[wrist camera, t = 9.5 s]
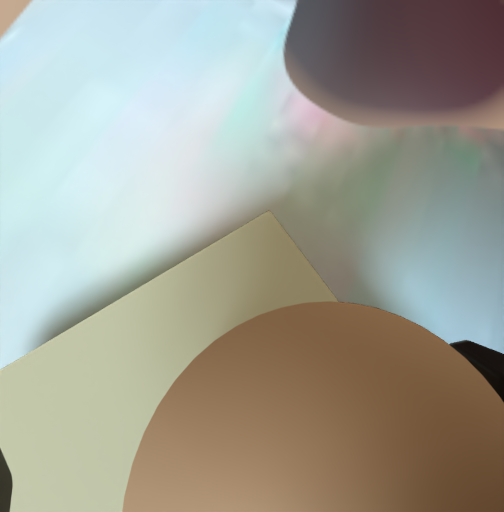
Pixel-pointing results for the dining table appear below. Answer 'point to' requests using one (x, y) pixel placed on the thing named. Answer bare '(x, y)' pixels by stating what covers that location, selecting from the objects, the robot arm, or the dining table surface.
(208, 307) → the peg shelf
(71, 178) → the dining table surface
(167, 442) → the post
